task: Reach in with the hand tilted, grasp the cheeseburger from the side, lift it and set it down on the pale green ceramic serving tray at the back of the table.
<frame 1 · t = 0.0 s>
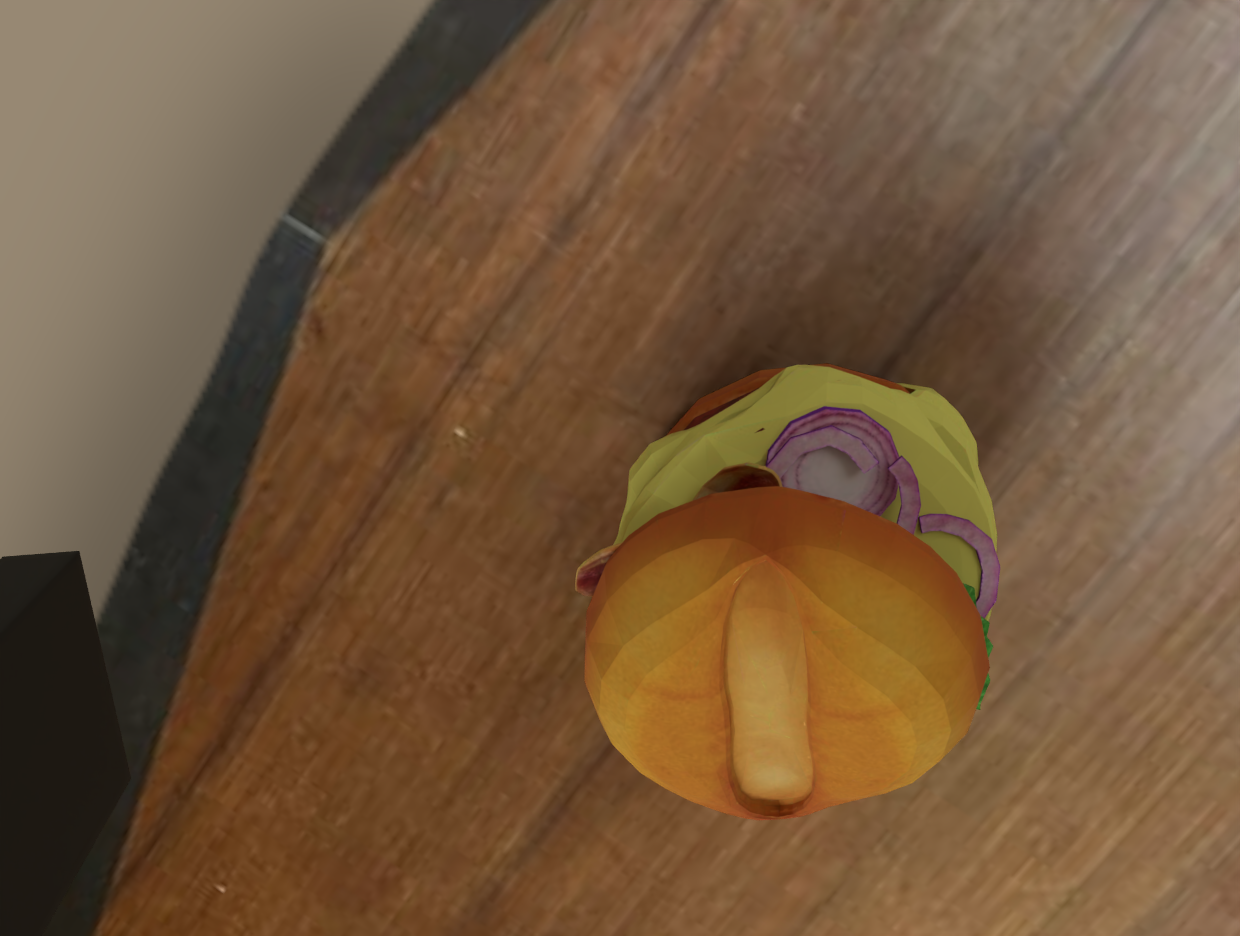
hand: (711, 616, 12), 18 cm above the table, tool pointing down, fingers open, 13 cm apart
cheeseburger: (775, 532, 32), on the table
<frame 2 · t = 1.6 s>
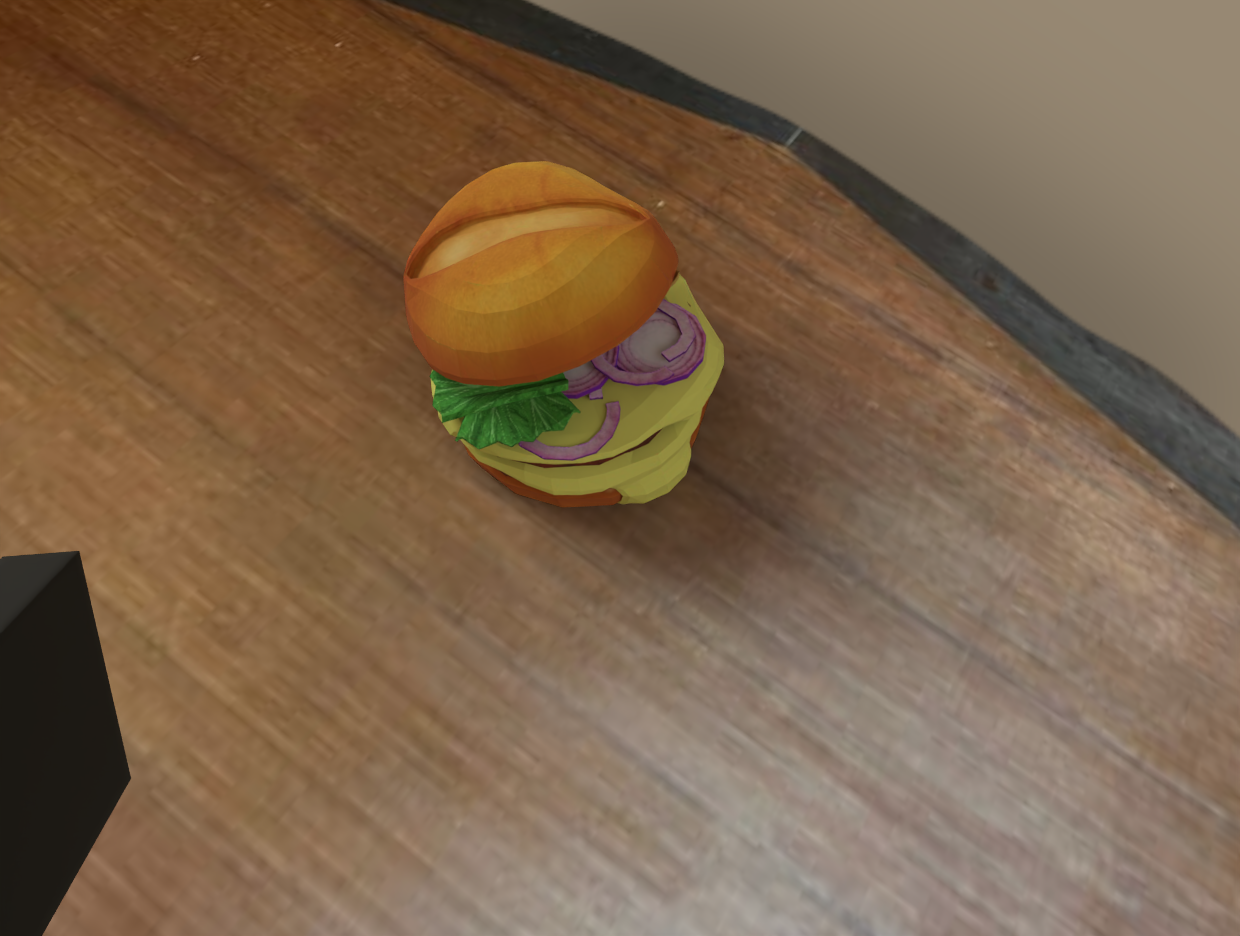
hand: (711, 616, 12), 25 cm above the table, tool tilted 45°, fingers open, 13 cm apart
cheeseburger: (566, 393, 42), on the table
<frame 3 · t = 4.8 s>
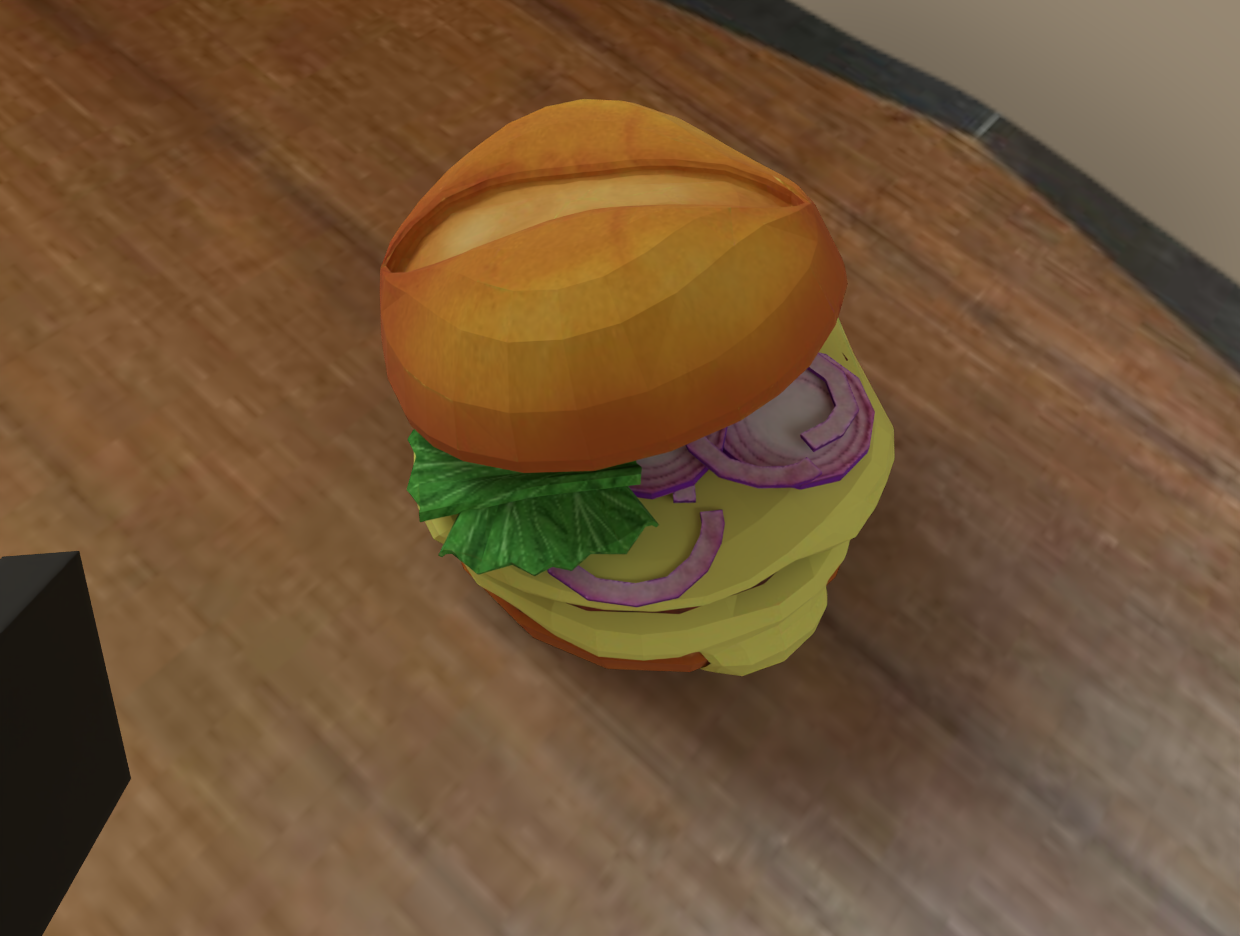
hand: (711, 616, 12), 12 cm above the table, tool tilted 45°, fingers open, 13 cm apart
cheeseburger: (626, 477, 27), on the table
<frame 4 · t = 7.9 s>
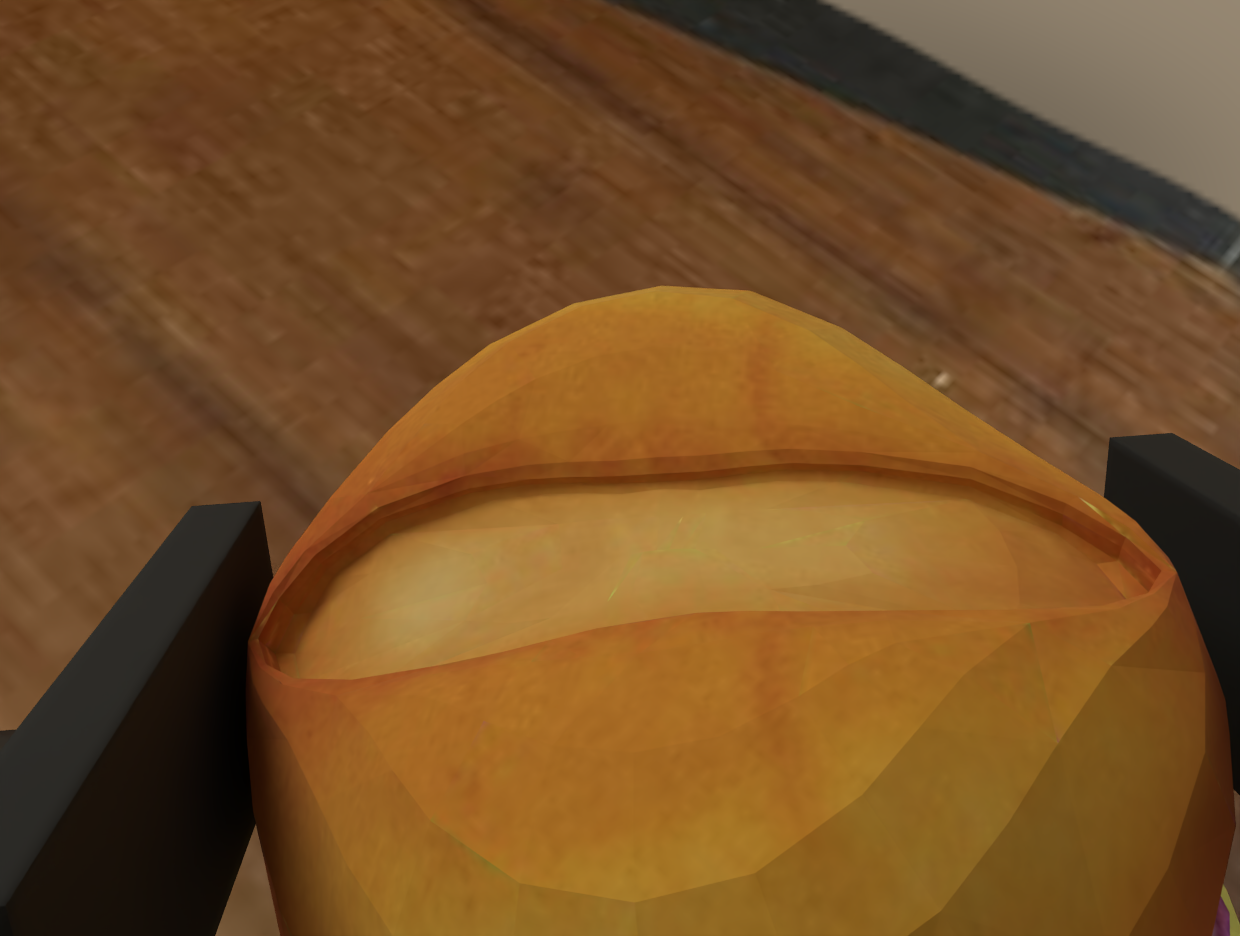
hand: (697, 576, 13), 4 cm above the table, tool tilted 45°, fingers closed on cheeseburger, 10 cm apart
cheeseburger: (705, 886, 16), on the table, touching gripper
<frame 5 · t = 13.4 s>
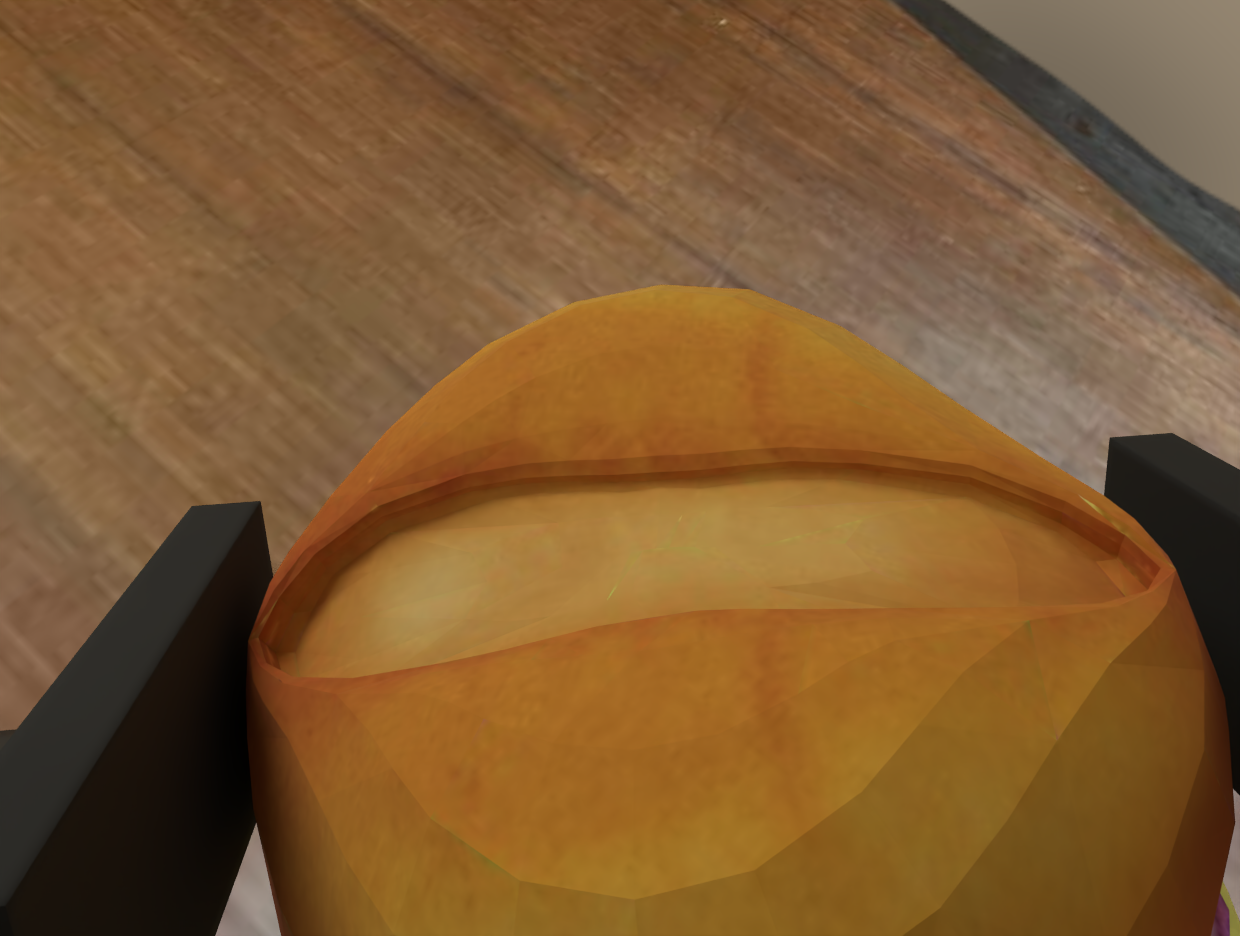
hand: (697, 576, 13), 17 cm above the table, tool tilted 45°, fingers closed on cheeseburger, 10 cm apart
cheeseburger: (706, 885, 16), point 13 cm above the table, touching gripper
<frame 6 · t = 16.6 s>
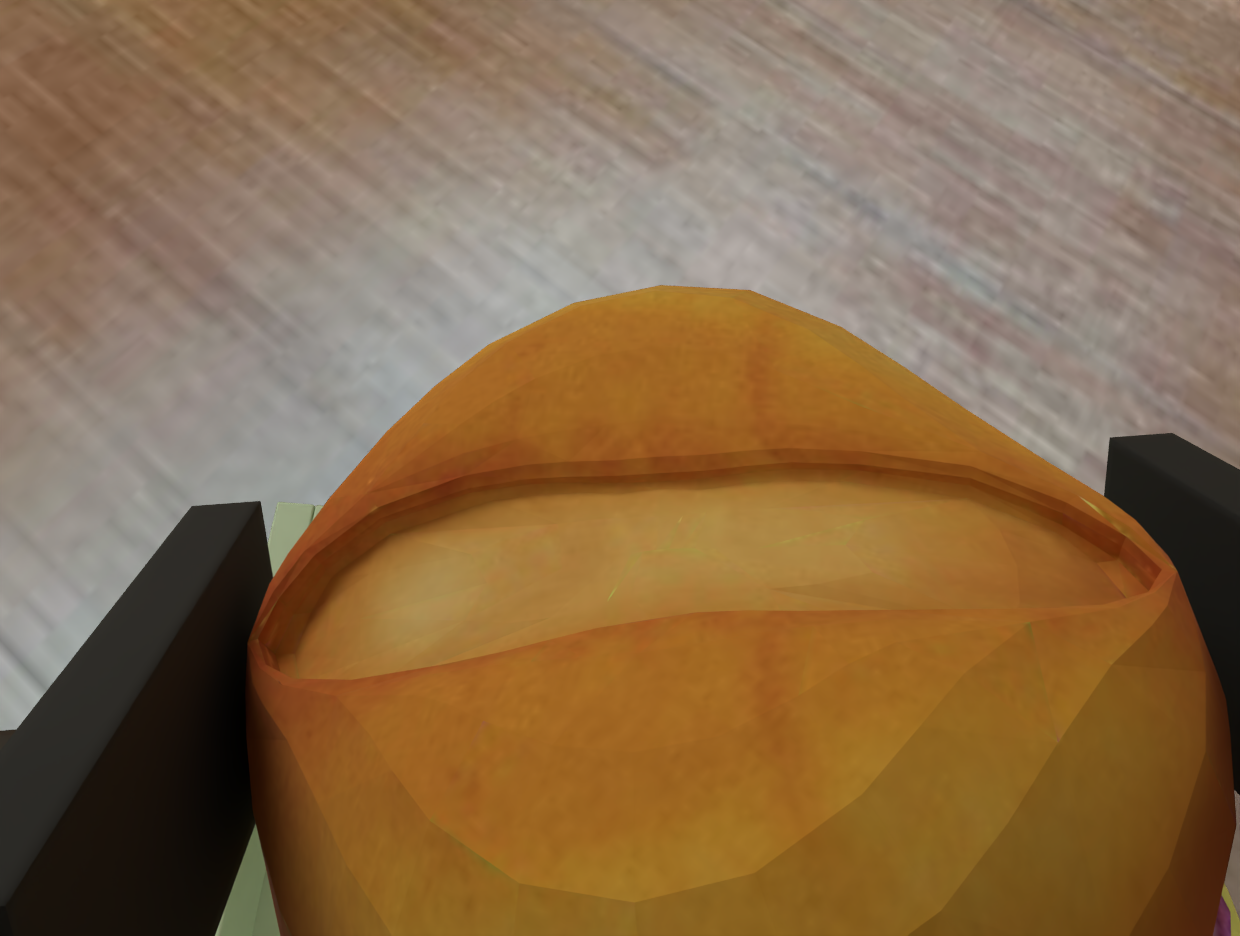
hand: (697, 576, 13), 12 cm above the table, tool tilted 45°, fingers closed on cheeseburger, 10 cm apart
cheeseburger: (706, 886, 16), point 8 cm above the table, touching gripper
tray: (668, 924, 23), on the table
when the fingers open (5 cm above the table, at t = 19.0 s): cheeseburger stays where it is, resting on tray.
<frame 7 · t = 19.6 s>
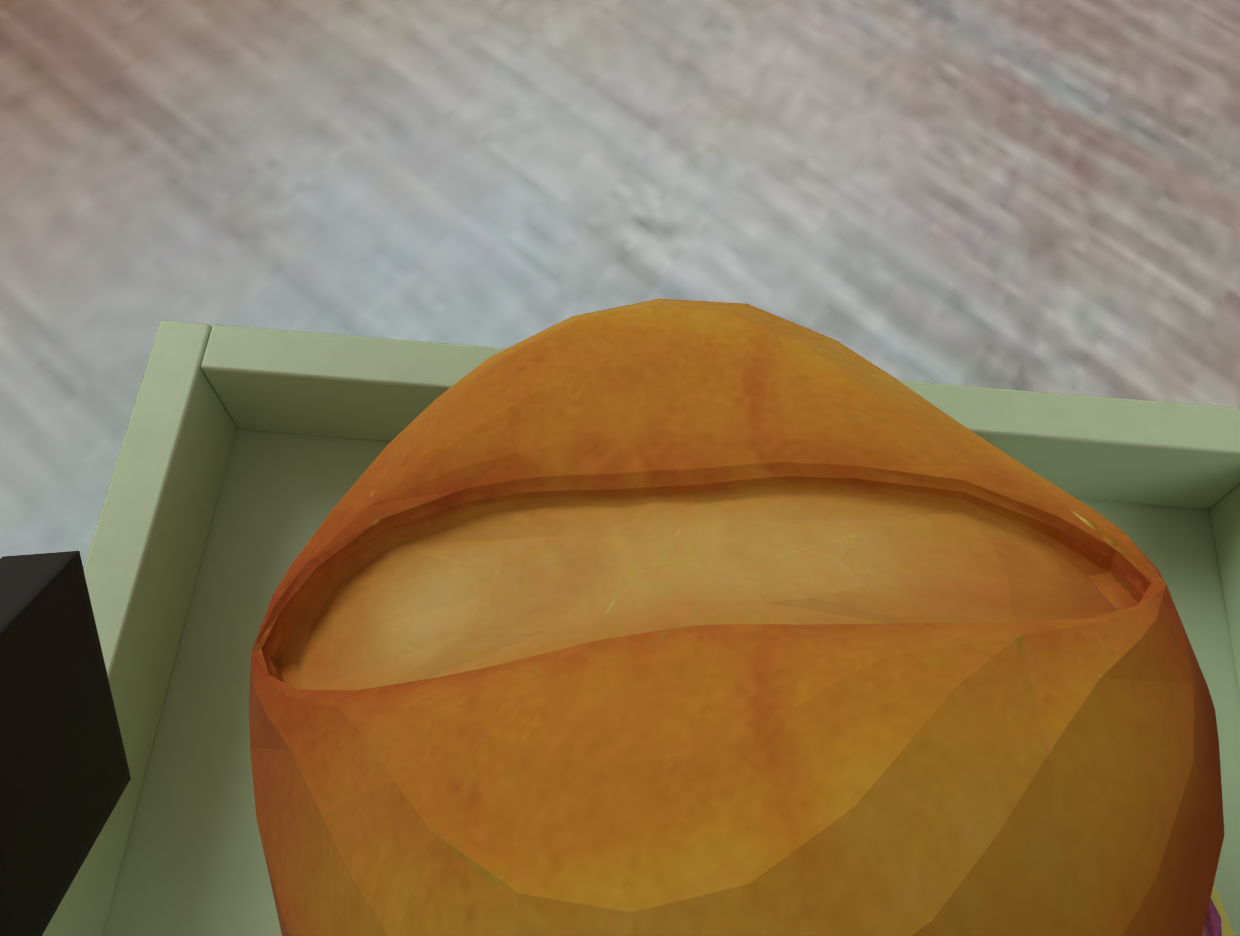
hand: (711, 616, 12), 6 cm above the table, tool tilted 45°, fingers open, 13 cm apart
cheeseburger: (704, 891, 16), point 1 cm above the table, touching tray
tray: (694, 894, 16), on the table
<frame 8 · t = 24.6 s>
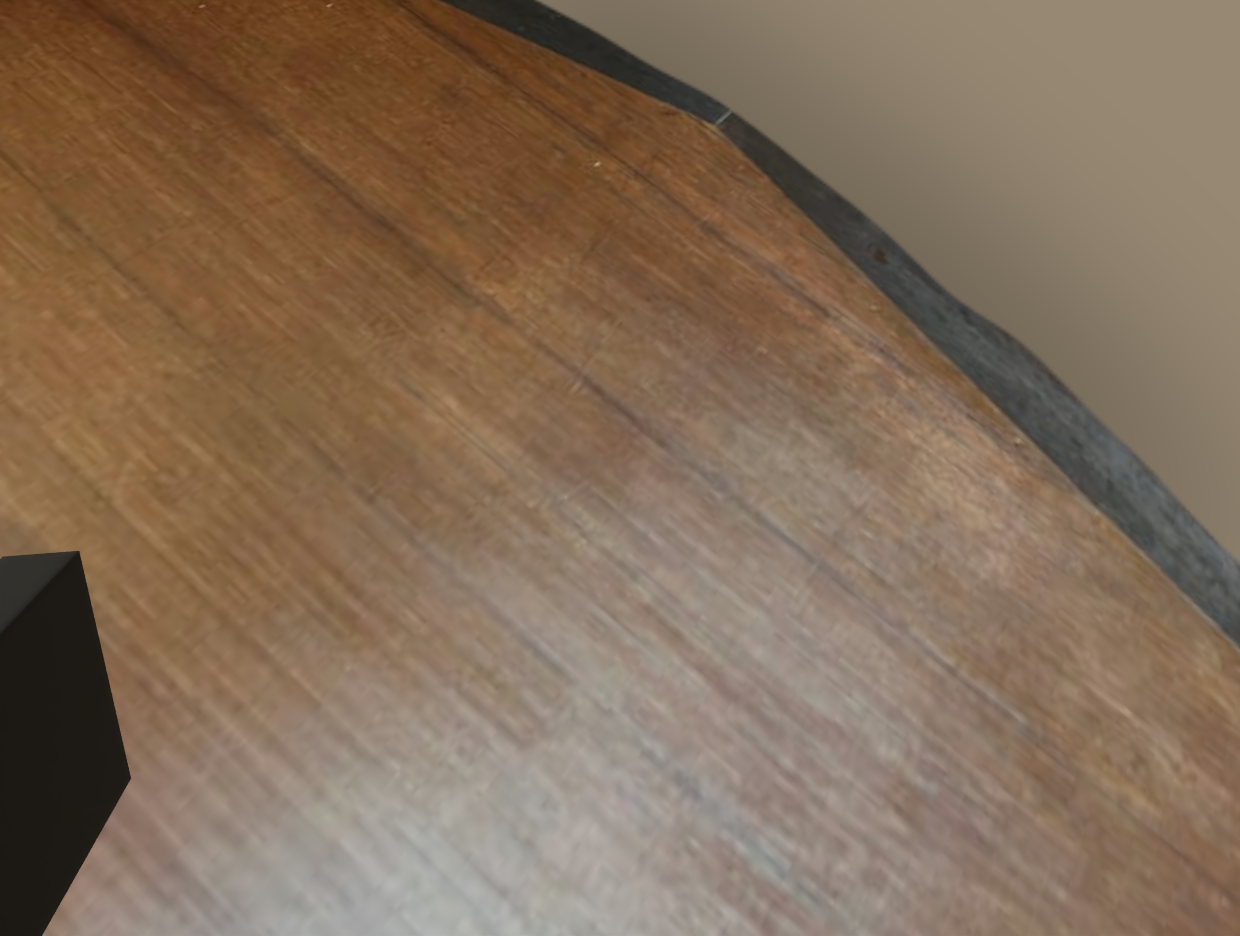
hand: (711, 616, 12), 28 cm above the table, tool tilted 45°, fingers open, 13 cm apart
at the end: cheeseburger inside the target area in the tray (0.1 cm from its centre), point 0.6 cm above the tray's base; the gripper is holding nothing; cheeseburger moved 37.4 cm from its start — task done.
